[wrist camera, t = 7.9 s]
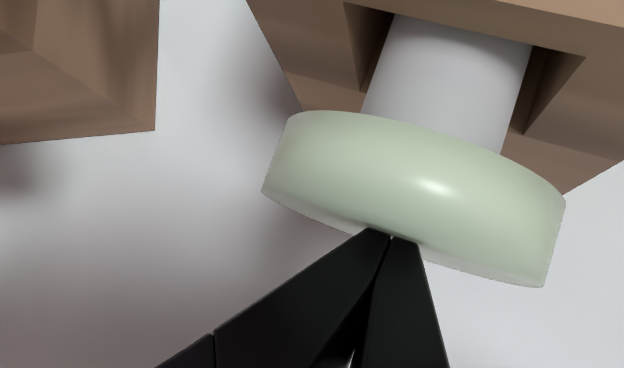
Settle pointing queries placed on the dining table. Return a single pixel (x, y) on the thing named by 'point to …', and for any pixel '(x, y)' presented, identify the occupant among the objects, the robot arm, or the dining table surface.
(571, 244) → the dining table surface
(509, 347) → the dining table surface
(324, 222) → the button sage
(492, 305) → the dining table surface
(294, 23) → the box middle
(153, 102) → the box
